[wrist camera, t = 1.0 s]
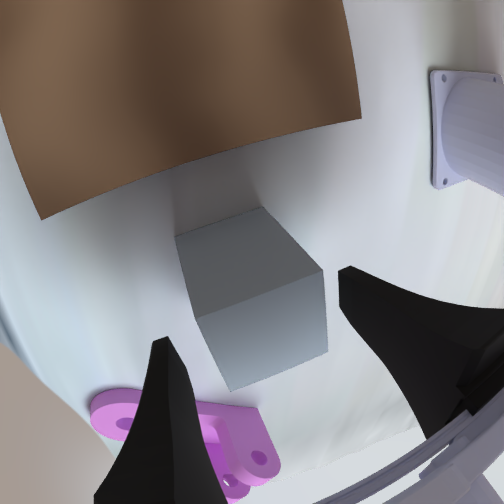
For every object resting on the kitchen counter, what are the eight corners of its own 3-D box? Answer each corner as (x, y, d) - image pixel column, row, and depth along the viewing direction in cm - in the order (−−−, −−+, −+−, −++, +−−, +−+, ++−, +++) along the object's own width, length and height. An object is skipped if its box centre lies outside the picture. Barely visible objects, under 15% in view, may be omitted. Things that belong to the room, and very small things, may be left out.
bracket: (256, 406, 24) (287, 476, 18) (224, 439, 26) (247, 502, 20) (100, 378, 18) (103, 473, 12) (84, 418, 19) (87, 498, 13)
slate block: (262, 206, 15) (323, 270, 11) (277, 277, 18) (328, 351, 13) (174, 236, 15) (194, 318, 10) (201, 305, 17) (230, 391, 12)
